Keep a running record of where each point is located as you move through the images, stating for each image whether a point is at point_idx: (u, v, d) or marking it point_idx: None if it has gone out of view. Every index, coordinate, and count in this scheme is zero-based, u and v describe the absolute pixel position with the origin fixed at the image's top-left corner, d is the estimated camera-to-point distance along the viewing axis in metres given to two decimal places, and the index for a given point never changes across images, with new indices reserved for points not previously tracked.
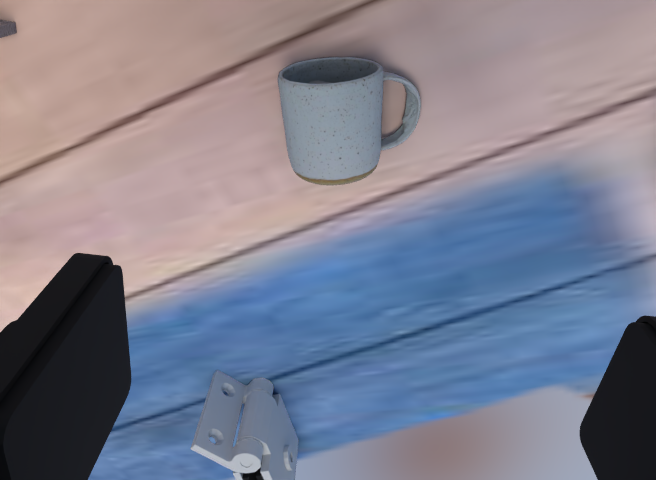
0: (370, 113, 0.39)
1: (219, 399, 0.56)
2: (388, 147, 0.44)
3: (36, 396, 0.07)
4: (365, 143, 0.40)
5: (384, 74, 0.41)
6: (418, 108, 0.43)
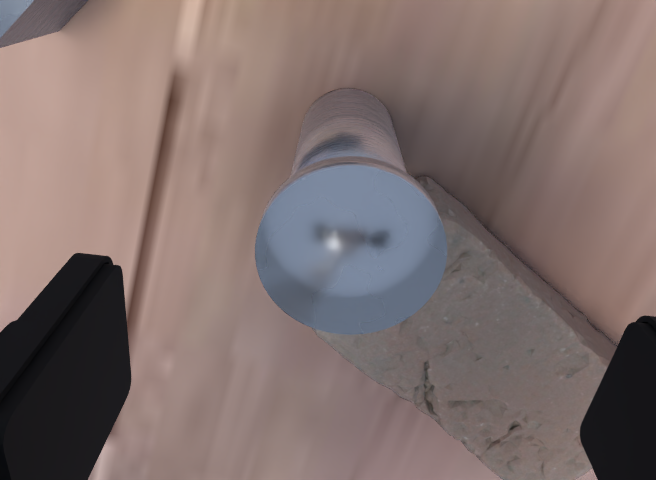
0: None
1: None
2: None
3: (36, 396, 0.07)
4: None
5: None
6: None
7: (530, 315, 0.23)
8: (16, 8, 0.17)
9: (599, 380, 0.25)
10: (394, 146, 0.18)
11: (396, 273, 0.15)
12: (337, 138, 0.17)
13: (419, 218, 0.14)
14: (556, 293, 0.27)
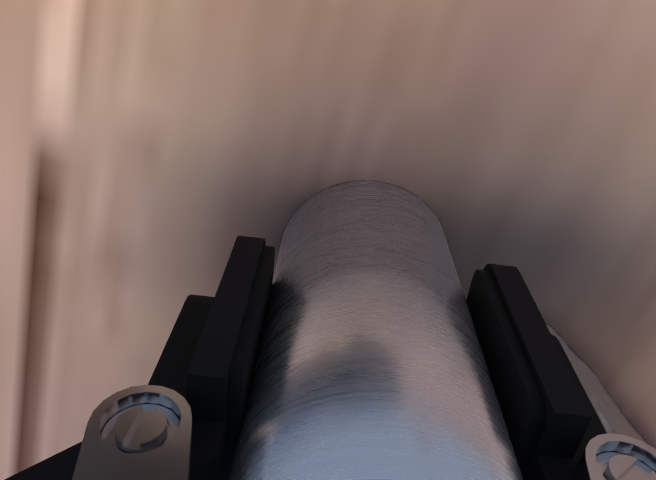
0: None
1: None
2: None
3: (250, 354, 0.08)
4: None
5: None
6: None
7: None
8: None
9: None
10: (482, 382, 0.08)
11: None
12: (346, 411, 0.06)
13: None
14: None
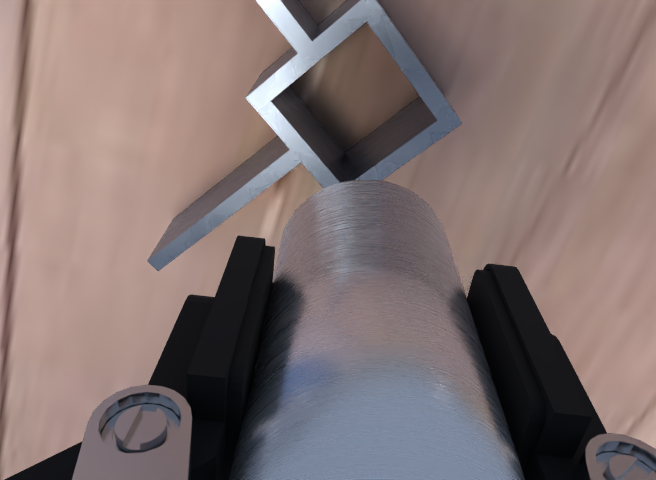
0: None
1: None
2: None
3: (251, 354, 0.08)
4: None
5: None
6: None
7: None
8: (178, 250, 0.29)
9: None
10: (484, 381, 0.08)
11: None
12: (347, 411, 0.06)
13: None
14: None
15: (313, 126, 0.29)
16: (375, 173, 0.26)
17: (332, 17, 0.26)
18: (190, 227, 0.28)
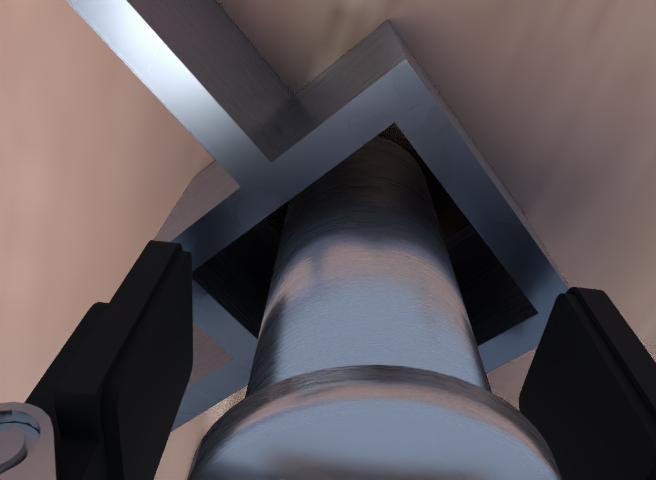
0: None
1: None
2: None
3: (137, 367, 0.08)
4: None
5: None
6: None
7: None
8: None
9: None
10: (442, 257, 0.11)
11: None
12: (344, 259, 0.09)
13: None
14: None
15: None
16: None
17: (319, 93, 0.13)
18: None
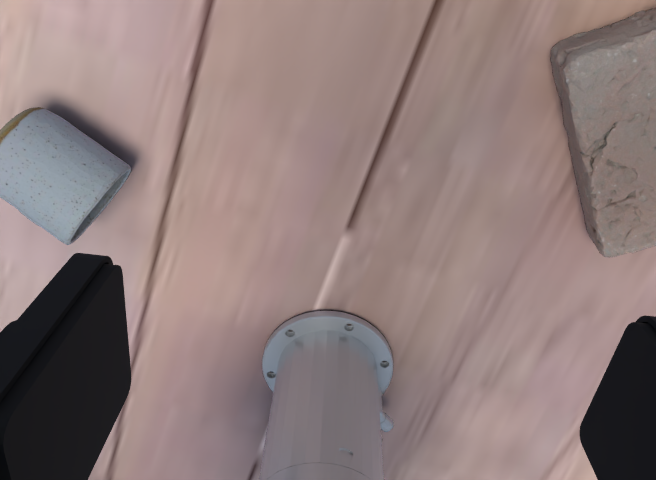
0: (37, 223, 0.40)
1: None
2: None
3: (37, 396, 0.07)
4: (11, 203, 0.39)
5: None
6: (32, 220, 0.46)
7: None
8: None
9: None
10: None
11: None
12: None
13: None
14: None
15: None
16: None
17: None
18: None
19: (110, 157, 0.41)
